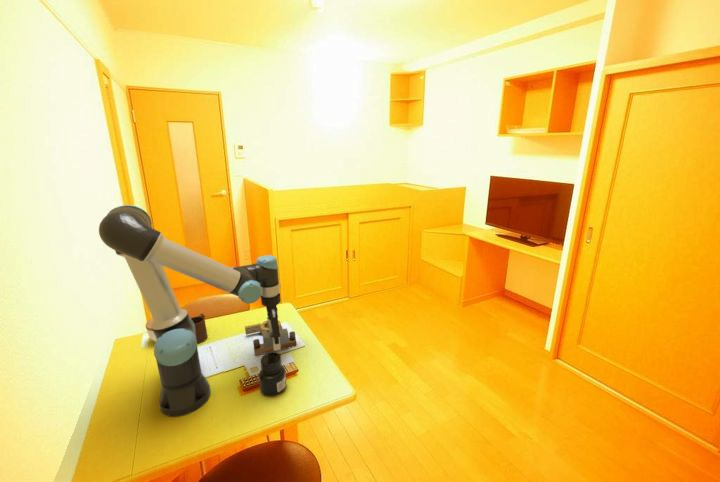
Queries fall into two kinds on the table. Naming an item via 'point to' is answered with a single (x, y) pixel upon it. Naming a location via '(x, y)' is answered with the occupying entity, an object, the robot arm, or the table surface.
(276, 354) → the ink bottle
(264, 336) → the bar
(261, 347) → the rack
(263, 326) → the golden ring with handle
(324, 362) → the table surface
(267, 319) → the nut station
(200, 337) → the mug
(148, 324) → the lidded bowl
